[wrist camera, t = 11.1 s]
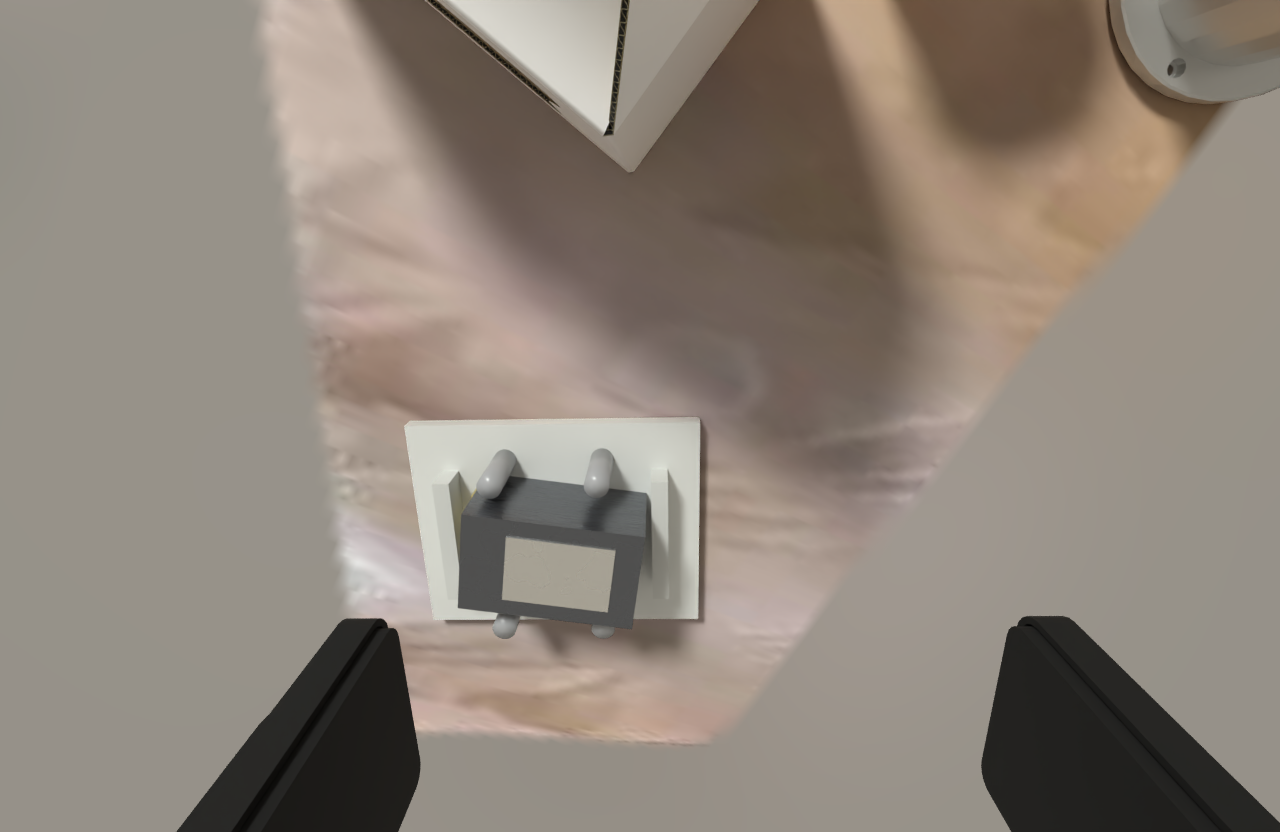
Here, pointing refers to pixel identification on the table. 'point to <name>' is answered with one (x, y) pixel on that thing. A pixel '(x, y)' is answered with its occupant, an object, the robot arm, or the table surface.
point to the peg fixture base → (568, 453)
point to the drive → (553, 552)
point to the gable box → (604, 58)
